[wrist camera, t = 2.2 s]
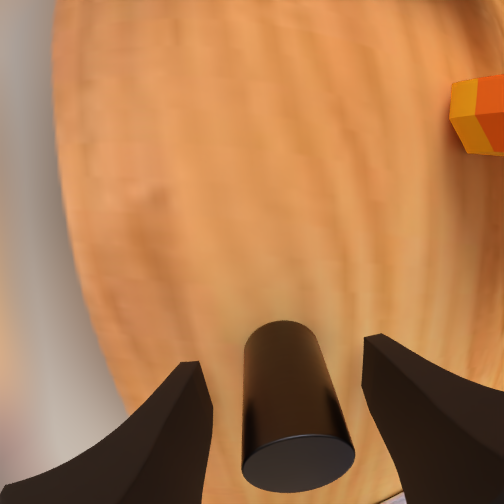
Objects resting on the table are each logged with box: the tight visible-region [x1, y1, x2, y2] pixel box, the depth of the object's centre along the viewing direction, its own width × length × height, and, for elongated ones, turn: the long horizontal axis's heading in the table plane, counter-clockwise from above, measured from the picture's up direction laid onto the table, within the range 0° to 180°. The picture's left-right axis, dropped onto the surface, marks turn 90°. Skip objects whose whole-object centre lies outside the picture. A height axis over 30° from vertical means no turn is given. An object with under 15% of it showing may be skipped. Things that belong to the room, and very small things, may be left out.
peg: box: [241, 321, 355, 493], centre depth 8 cm, size 3×3×5 cm
